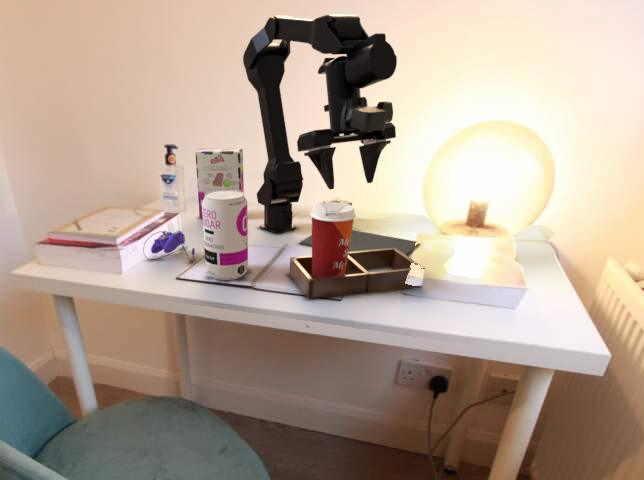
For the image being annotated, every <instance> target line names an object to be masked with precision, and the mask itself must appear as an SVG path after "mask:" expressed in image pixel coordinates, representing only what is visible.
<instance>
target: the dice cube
mask: <svg viewBox="0 0 644 480" xmlns="http://www.w3.org/2000/svg"><path fill="white" fill-rule="evenodd" d="M325 202H338V203H345V204H349V205H351V206H353V202H351V201H347V200H345V199H341V198H339V197H338V198H334V199H329V200H323V201H322V203H325Z"/></svg>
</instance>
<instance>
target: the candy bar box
mask: <svg viewBox="0 0 644 480" xmlns="http://www.w3.org/2000/svg"><path fill="white" fill-rule="evenodd" d="M195 165H196V167H195V168H196V180H197V181H196V183H197V197H198V214H199V218H200V219H203V216H202V202H203V200H204V198H205V194H206V193H208V192H211V191H216V190H237V191H241V192H243V193H244V194H245V187H244V184H245V183H244V181H245V180H244V149H243V148H199V149H198V150H196V151H195Z"/></svg>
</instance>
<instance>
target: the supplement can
mask: <svg viewBox="0 0 644 480" xmlns="http://www.w3.org/2000/svg"><path fill="white" fill-rule="evenodd" d="M202 216H203V218H202V229H203V230H202V231H203V249H204V265H205V266H204V267H205V268H204V270H205V273H207V274H208V275H209V276H210V277H211V278H213V279H215V280H222V281H230V280H235V279H239V278H242V277H243V276H244V275H246V273H247V272H248V271H249V238H248V237H249V236H248V235H249V234H248V232H249V230H248V229H249V228H248V224H249V223H248V222H249V221H248V217H249V216H248V200H247V199H246V196H245V192H244V193H243V192H241V191H237V190H216V191H211V192H208V193H206V194H205V198H204V200H203V202H202Z"/></svg>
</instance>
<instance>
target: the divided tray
mask: <svg viewBox="0 0 644 480" xmlns="http://www.w3.org/2000/svg"><path fill="white" fill-rule="evenodd" d="M414 261H415V260H414V259H412V258H411V257H409V255H408V254H407V255H405V254H404V253H402V252H401V251H399V250H398V249H397V248H386V249H375V250H365V251H354V252H348V257H347V263H346V269H345V275H340V276H330V277H320V278H312V254H311V255H301V256H291V257H289V276H290V278H291V279H292V280H293V281H294V283H295V284H296V285H297V286H298V288H299V289H300V290H301V291H302V293H303V294H304V295H305V297H306V298H307V299H308V300H314V299H322V298H332V297H340V296H341V297H342V296H350V295H358V294H367V293H369V294H370V293H377V292H386V291H395V290H405V289H414V288H420V287H419V286H412V285H408V284H405V281H406V278H407V275H408V273H409V271H410V270H411V268H410V265H411V263H414ZM414 264H415V265H418V264H419V263H418V262H417V261H415V263H414ZM419 265H420V266H422V265H421V264H419ZM387 267H392V268H393V269H391V270H380V271H379V270H378V271H370V272H369V271H368V270H366V269H377V268H387ZM421 269H422V268H421ZM423 269H425V270H426V267H424V268H423Z"/></svg>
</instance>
